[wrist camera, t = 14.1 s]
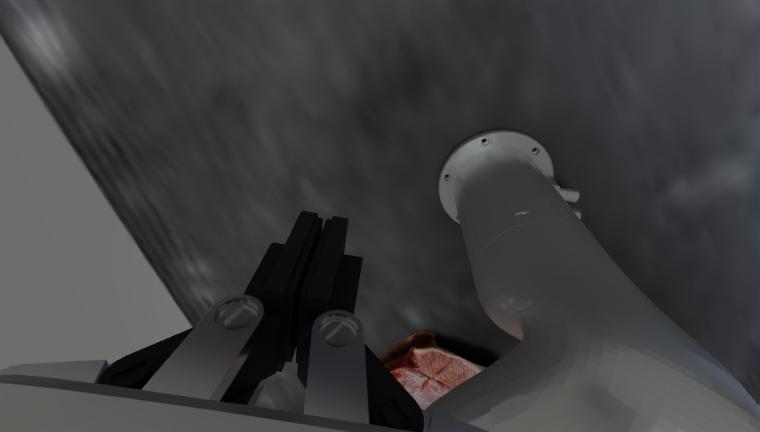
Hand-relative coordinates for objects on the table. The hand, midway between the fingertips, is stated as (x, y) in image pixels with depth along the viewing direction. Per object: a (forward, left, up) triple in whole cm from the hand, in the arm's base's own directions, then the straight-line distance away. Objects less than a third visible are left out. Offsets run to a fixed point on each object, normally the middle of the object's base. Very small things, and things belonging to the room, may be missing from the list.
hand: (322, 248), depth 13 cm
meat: (-17, +44, -28) cm, 55 cm away
